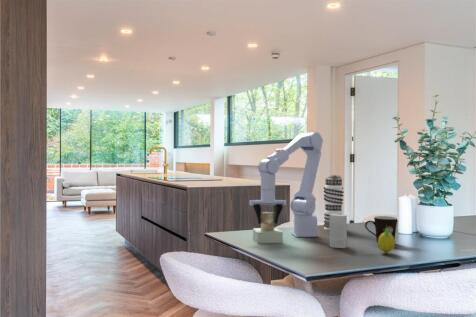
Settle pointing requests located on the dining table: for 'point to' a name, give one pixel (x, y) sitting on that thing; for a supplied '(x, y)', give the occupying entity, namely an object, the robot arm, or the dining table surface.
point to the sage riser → (267, 236)
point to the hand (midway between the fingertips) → (267, 223)
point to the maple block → (267, 221)
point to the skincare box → (338, 231)
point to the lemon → (386, 241)
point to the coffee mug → (383, 225)
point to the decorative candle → (332, 198)
